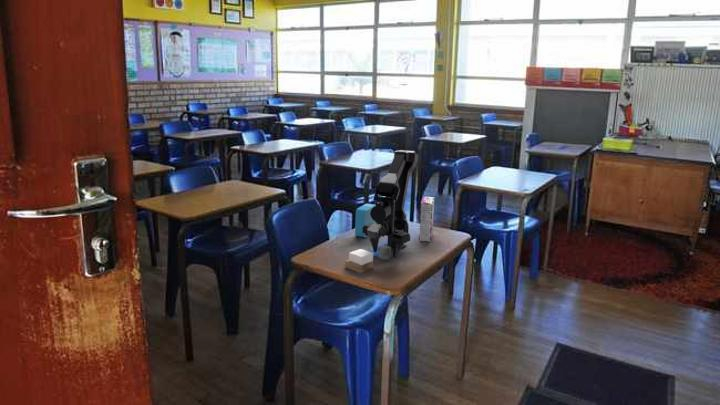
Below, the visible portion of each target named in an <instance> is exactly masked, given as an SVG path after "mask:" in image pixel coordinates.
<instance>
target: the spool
mask: <svg viewBox="0 0 720 405" xmlns="http://www.w3.org/2000/svg"><path fill="white" fill-rule="evenodd" d="M391 252H392V248H391V247H389V246H385V245H381V246H378V259H379V260H382V261H389V260H390V259H391V258H392V257H391V255H392V253H391Z"/></svg>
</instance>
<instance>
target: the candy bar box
mask: <svg viewBox="0 0 720 405" xmlns="http://www.w3.org/2000/svg"><path fill="white" fill-rule="evenodd" d="M434 212H435V197H434V196H423V197H422V199H421V202H420V218H419V219H420V220H419V221H420V222H419V223H420V224H419V225H420V226H419V240H418V241H419V242H425V241H426V242H427V243H430V242H432V238H433V231H434Z"/></svg>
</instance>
